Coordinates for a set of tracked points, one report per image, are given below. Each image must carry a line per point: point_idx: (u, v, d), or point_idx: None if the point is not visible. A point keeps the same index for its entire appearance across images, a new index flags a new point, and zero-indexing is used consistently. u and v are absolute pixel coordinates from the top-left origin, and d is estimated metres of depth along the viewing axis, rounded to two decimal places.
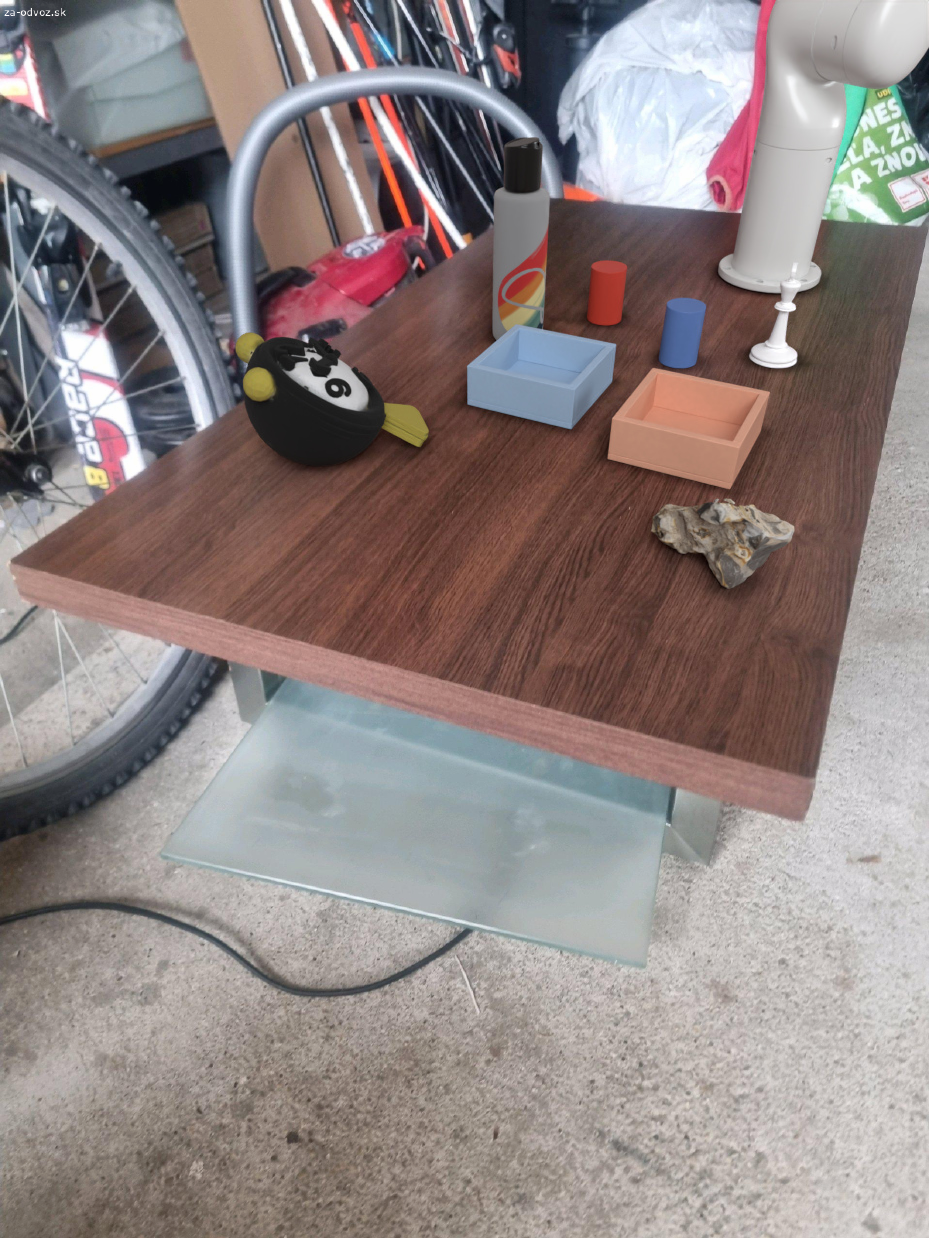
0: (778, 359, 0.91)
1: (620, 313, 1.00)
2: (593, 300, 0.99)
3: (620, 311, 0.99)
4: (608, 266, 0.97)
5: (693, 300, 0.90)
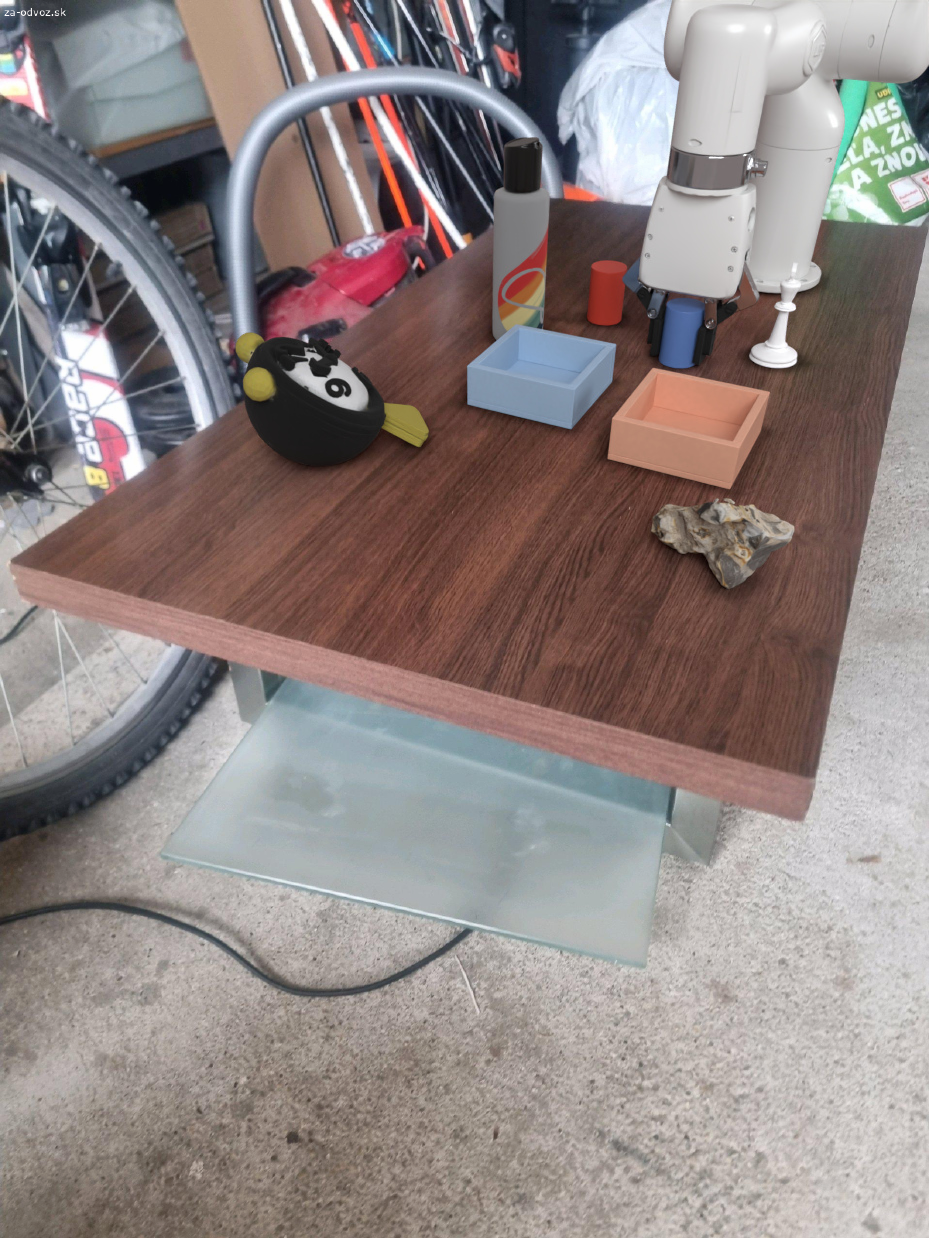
0: (778, 359, 0.91)
1: (620, 313, 1.00)
2: (593, 300, 0.99)
3: (620, 311, 0.99)
4: (608, 266, 0.97)
5: (693, 300, 0.90)
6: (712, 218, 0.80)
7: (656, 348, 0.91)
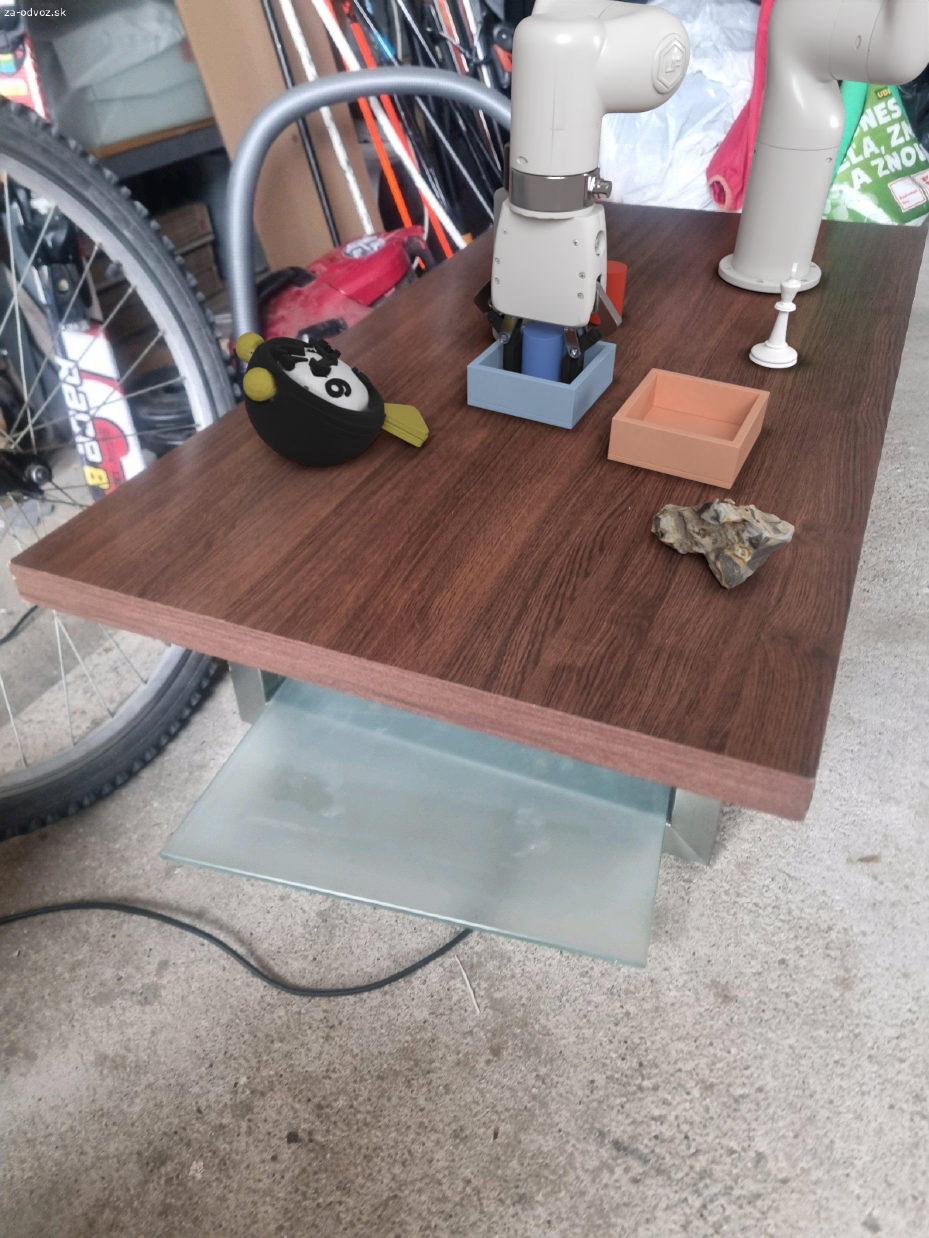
0: (778, 359, 0.91)
1: (620, 313, 1.00)
2: None
3: (620, 311, 0.99)
4: (608, 266, 0.97)
5: None
6: (556, 242, 0.75)
7: None
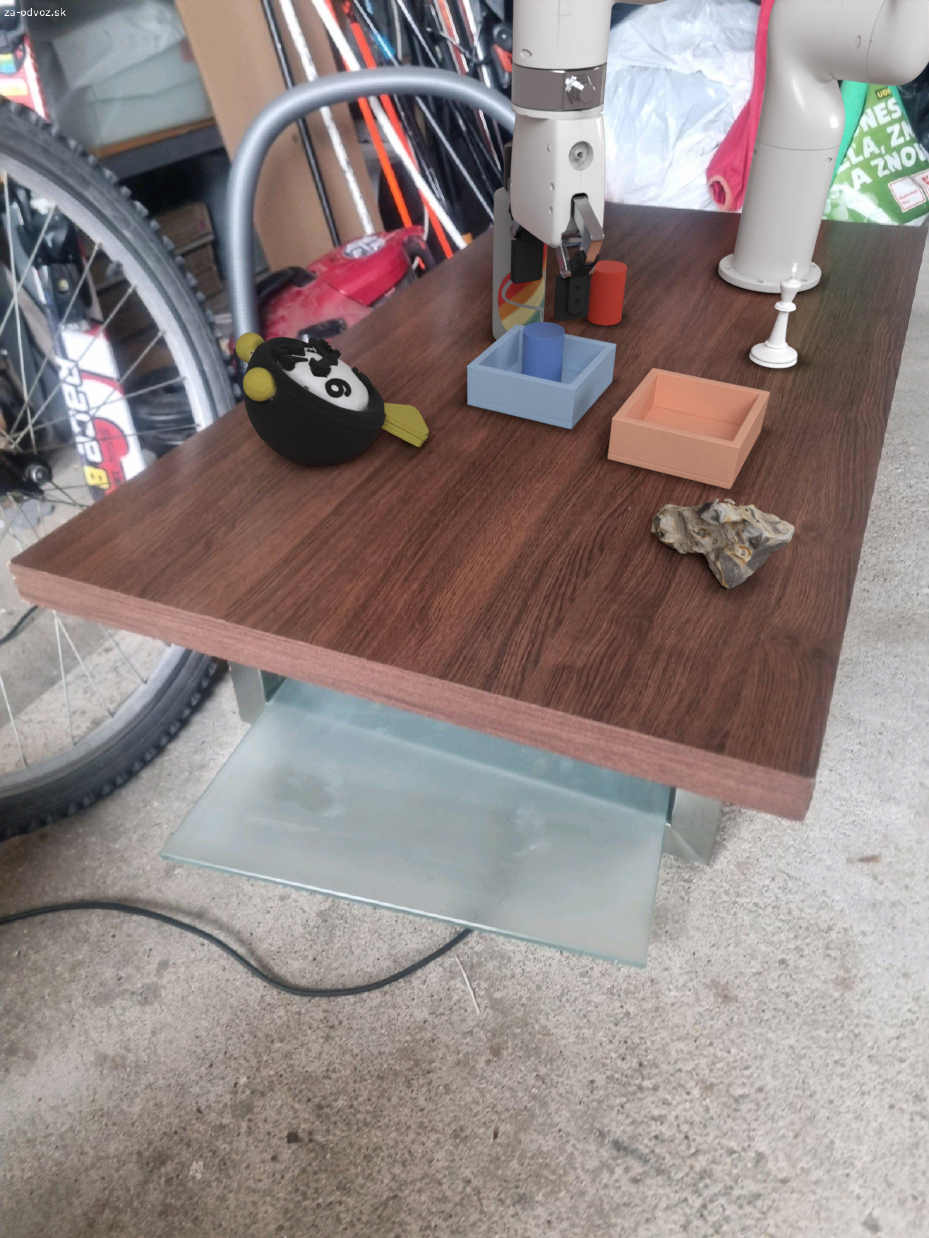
0: (778, 359, 0.91)
1: (620, 313, 1.00)
2: (593, 300, 0.99)
3: (620, 311, 0.99)
4: (608, 266, 0.97)
5: (553, 324, 0.84)
6: (537, 145, 0.70)
7: (514, 274, 0.83)
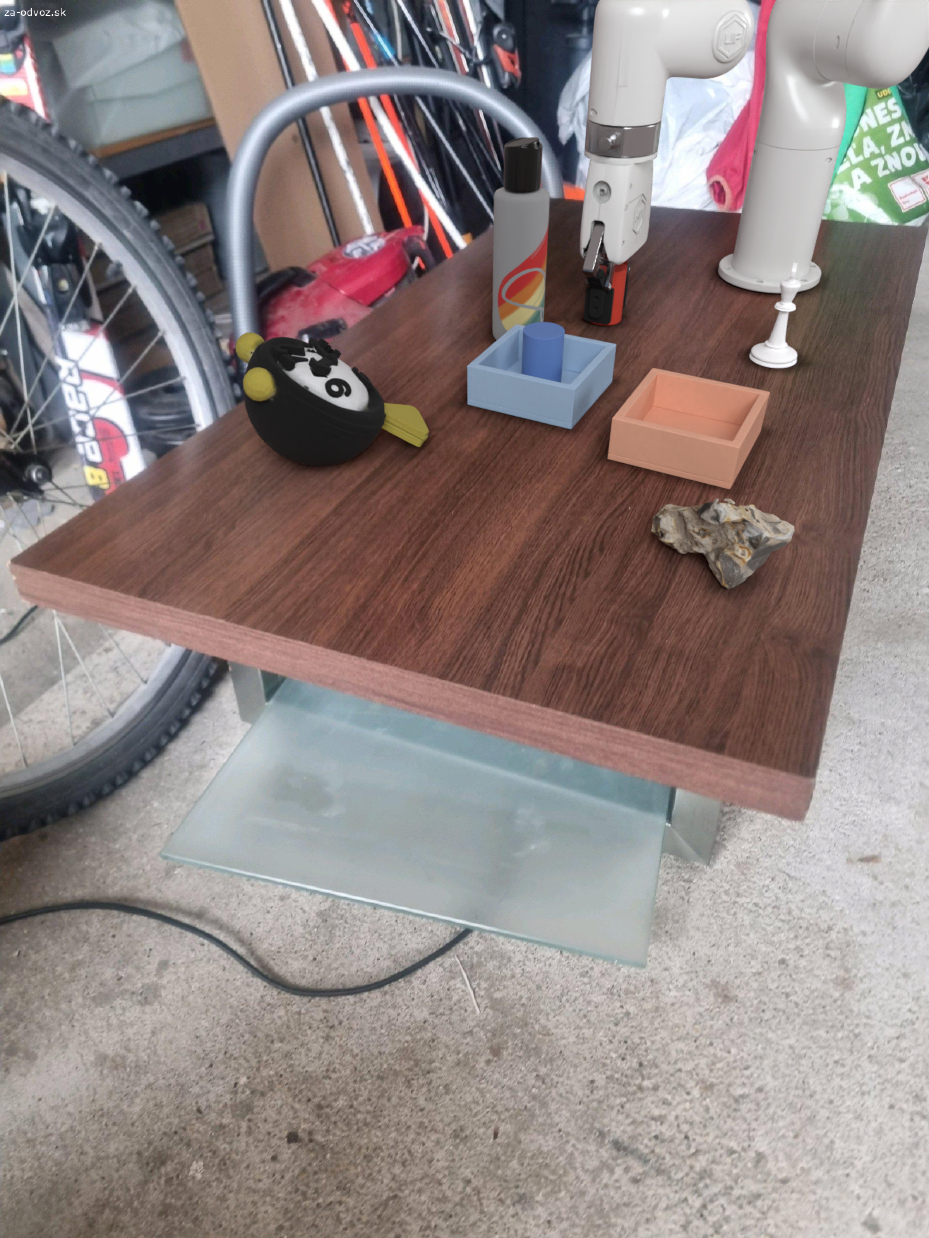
0: (778, 359, 0.91)
1: (620, 313, 1.00)
2: None
3: (620, 311, 0.99)
4: None
5: (553, 324, 0.84)
6: None
7: None
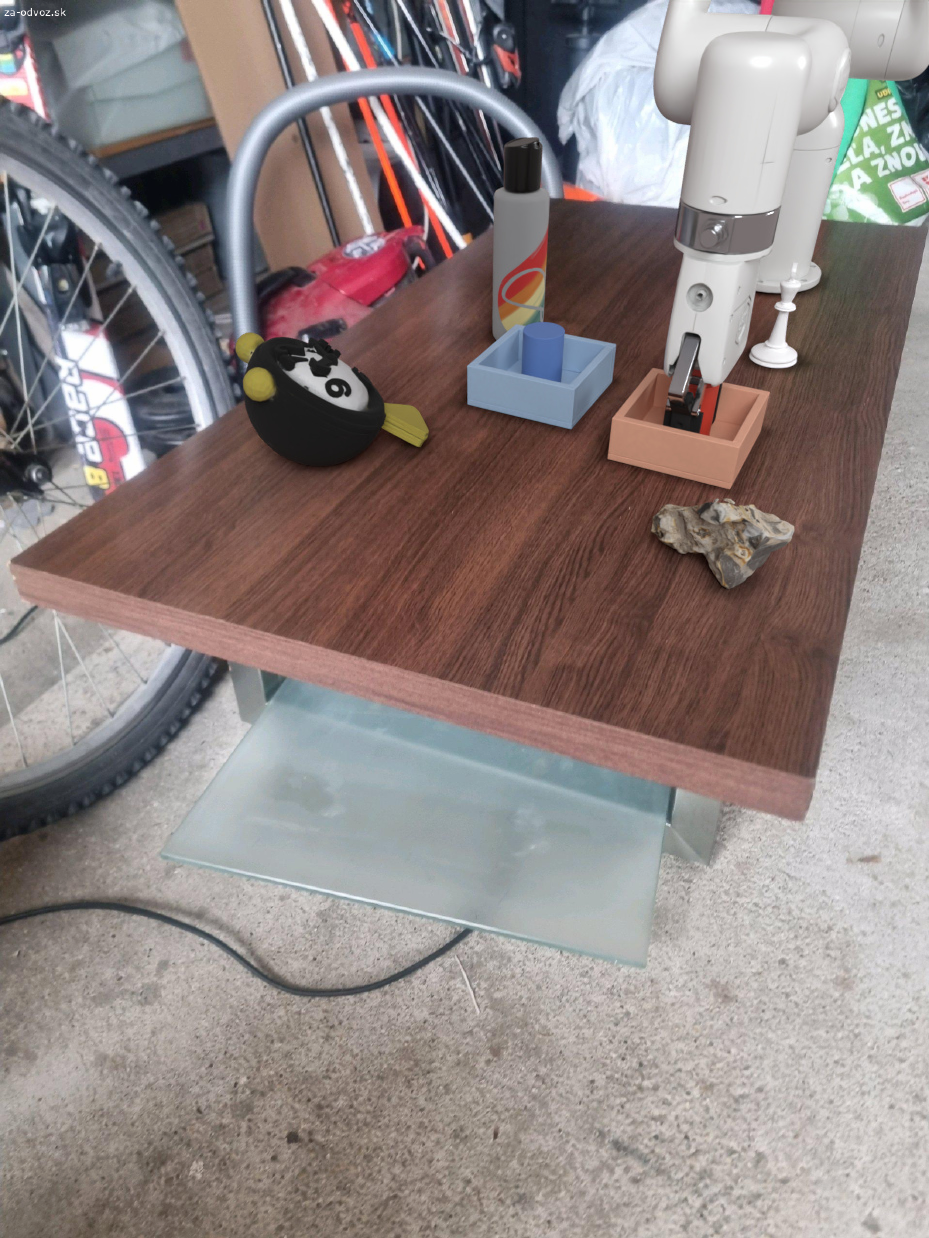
0: (778, 359, 0.91)
1: (708, 435, 0.77)
2: None
3: (708, 433, 0.77)
4: None
5: (553, 324, 0.84)
6: None
7: None
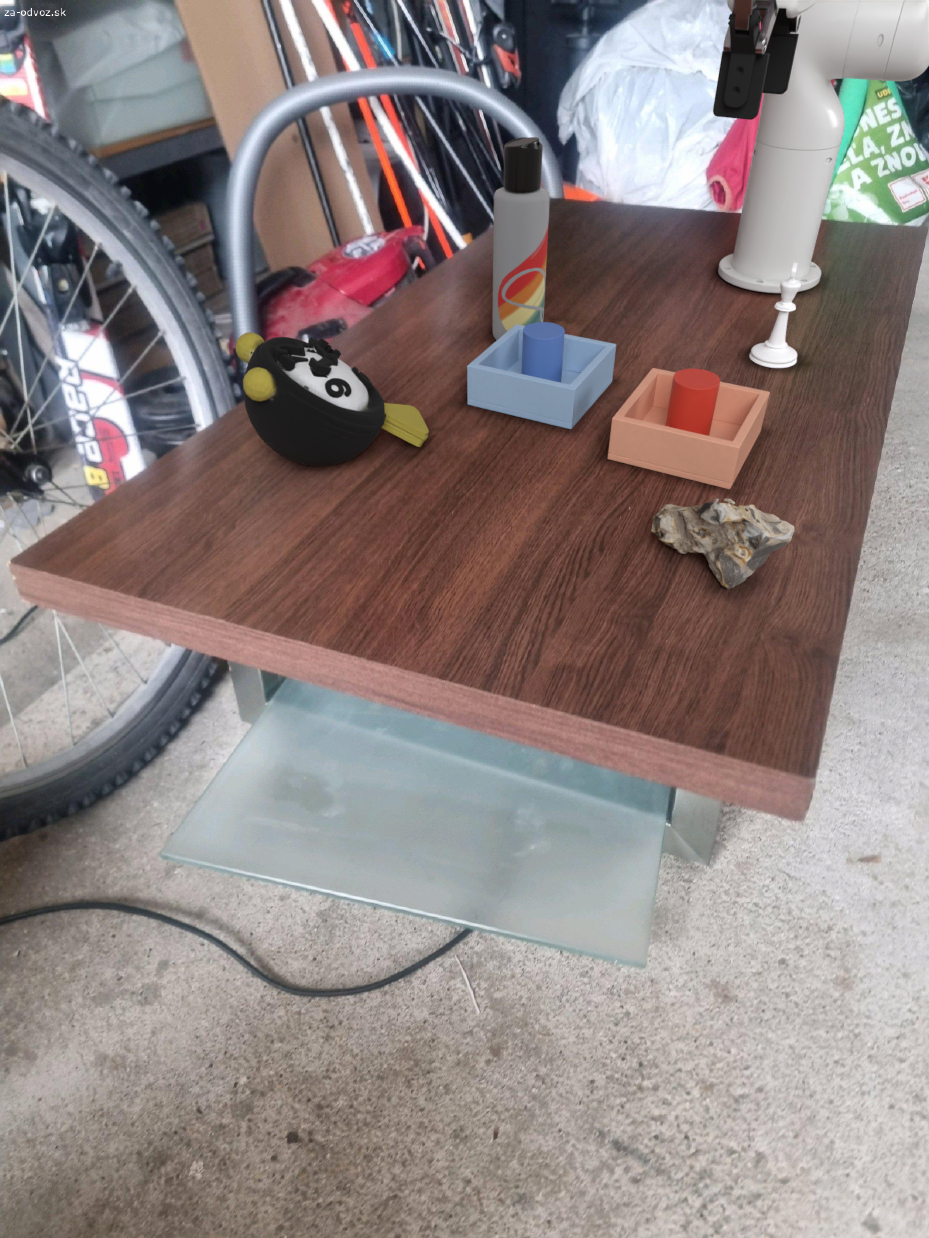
0: (778, 359, 0.91)
1: (708, 435, 0.77)
2: (674, 419, 0.76)
3: (708, 433, 0.77)
4: (695, 378, 0.75)
5: (553, 324, 0.84)
6: None
7: None
